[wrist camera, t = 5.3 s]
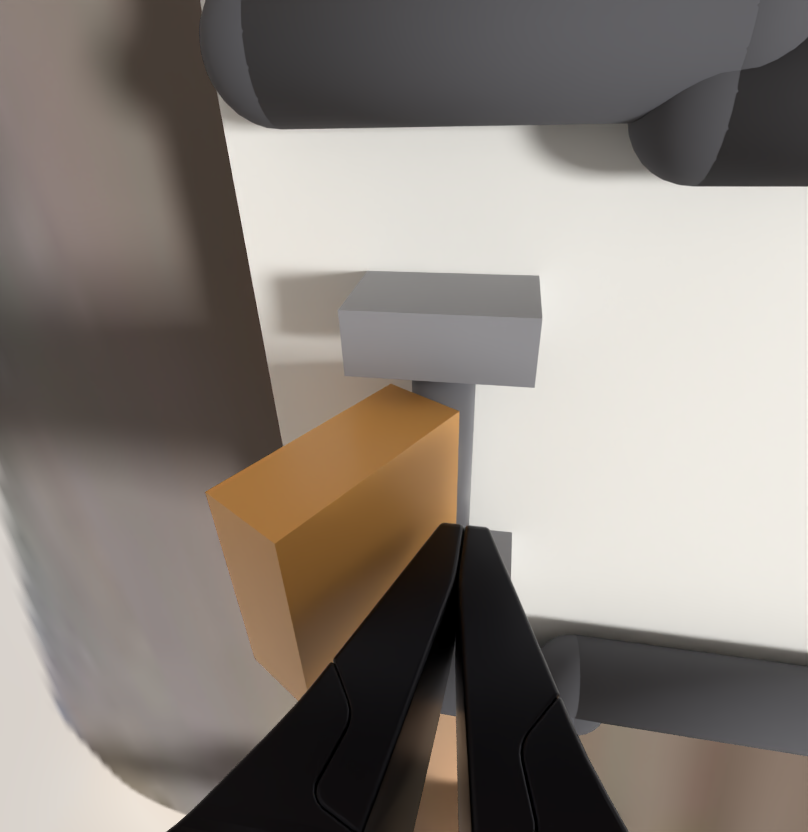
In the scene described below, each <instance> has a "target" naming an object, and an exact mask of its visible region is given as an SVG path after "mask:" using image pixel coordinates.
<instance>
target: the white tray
mask: <svg viewBox="0 0 808 832" xmlns="http://www.w3.org/2000/svg"><path fill="white" fill-rule="evenodd" d="M200 3H201V9H202V10H203V7H204V3H205V0H200ZM217 95H218V100H219V105H220V111H221V116H222V122H223V127H224V132H225V138H226V143H227V148H228V154H229V159H230V165H231V170H232V175H233V181H234V186H235V191H236V197H237V202H238V207H239V213H240V218H241V224H242V229H243V234H244V240H245V245H246V250H247V256H248V261H249V267H250V272H251V277H252V283H253V288H254V293H255V299H256V304H257V310H258V315H259V320H260V326H261V331H262V336H263V342H264V347H265V352H266V358H267V363H268V369H269V374H270V379H271V385H272V390H273V395H274V401H275V406H276V412H277V417H278V422H279V428H280V433H281V438H282V444H283V446H285V445H286V444H288V443H290V442H292V441H293V440H295V439H297V438H298V437H300V436H302V435H304V434H305V433H307V432H309V431H310V430H312V429H314V428H316V427H317V426H319V425H321V424H322V423H324V422H326V421H328V420H329V419H331V418H333V417H334V416H336V415H338V414H340V413H341V412H343V411H345V410H346V409H348V408H350V407H352V406H353V405H355V404H357V403H358V402H360V401H362V400H364V399H365V398H367V397H369V396H370V395H372V394H374V393H376V392H377V391H379V390H381V389H383V388H384V387H386V386H388V385H389V384H393V385H395V386H398V387H400V388H403V389H405V390H408V391H410V392H412V380H416V381H432V382H448V383H464V384H476V389H475V410H474V432H473V453H472V475H471V497H470V518H469V525H473V526H482V527H487V528H489V530H490V531H491V534H492V536H493V538H494V541H495V543H496V545H497V548H498V550H499V552H500V555H501V557H502V560H503V562H504V564H505V567H506V569H507V571H508V574H509V576H510V578H511V581H512V583H513V585H514V588H515V590H516V592H517V595H518V597H519V600H520V602H521V604H522V607H523V609H524V611H525V614H526V616H527V618H528V621H529V623H530V625H531V628H532V630H533V632H534V635H535V637H536V640H537V642H538V644H539V647H540V648H542V647H543V646H544V645H545V644H546V643H547V642H548V641H550V640H551V639H553V638H555V637H557V636H560V635H566V634H570V635H581V636H588V637H596V638H603V639H610V640H618V641H625V642H633V643H640V644H647V645H655V646H662V647H669V648H677V649H684V650H692V651H699V652H706V653H714V654H721V655H728V656H736V657H743V658H751V659H758V660H765V661H773V662H780V663H787V664H795V665H802V666H808V187H697V186H694V187H693V186H683V185H677V184H674V183H671V182H668V181H665V180H662V179H660V178H659V177H657V176H655V175H654V174H652V173H651V172H650V171H649V170H648V169H647V168H646V167H645V166H644V165H643V164H642V163H641V162H640V160H639V158H638V157H637V155H636V153H635V152H634V150H633V147H632V144H631V141H630V138H629V133H628V123H627V124H570V125H512V126H455V127H397V128H340V129H282V130H281V129H272V128H265V127H262V126H259V125H256V124H254V123H252V122H250V121H249V120H247V119H245V118H243V117H242V116H240V115H238V114H237V113H236V112H235V111H234V110H233V109H232V108H231V107H230V106H229V105H228V104H227V103H226V102H225V101H224V100H223V99H222V97H221V96H220V95H219V93H218V92H217Z"/></svg>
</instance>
